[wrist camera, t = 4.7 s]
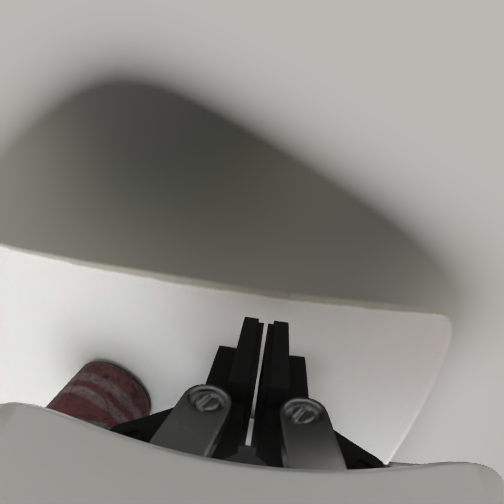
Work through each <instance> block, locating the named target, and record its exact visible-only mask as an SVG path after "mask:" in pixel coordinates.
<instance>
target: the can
mask: <svg viewBox="0 0 504 504" xmlns="http://www.w3.org/2000/svg"><path fill="white" fill-rule="evenodd" d="M46 408H49V409H52V410H55V411H58V412H61V413H64V414H66V415H69V416H72V417H76V418H80V419H85V420H90V421H95V422H101V423H107V427H111V428H112V427H114V426H115V425H118V424H120V423H124V422H127V421H131V420H135V419H138V418H142V417H145V416H148V415H149V414H150V410H149V402H148V398H147V396H146V394H145V391H144V389H143V388H142V387H141V385H140V384H139V383H138V381H137V380H135V379H134V378H133V377H132V376H131V375H130V374H129V373H127V372H126V371H124V370H123V369H121V368H119V367H117V366H115V365H112V364H109V363H102V362H93V363H90V364H87V365H85V366H84V367H83V368H82V369H81V370H80V371H79V372H78V373H77V374H76V375H75V376H74V377H73V378H72V379H71V380H70V382H69V383H68V384H67V385H66V386H65V387H64V388H63V389H62V390H61V391H60V392H59V393H58V395H57V396H56V397H55V398H54V399H53V400H52V401H51V402H50V403H49V404H48V405H47V407H46Z"/></svg>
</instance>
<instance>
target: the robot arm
mask: <svg viewBox="0 0 504 504" xmlns="http://www.w3.org/2000/svg"><path fill="white" fill-rule="evenodd" d="M263 326H264V323H259V319H257V318H250V317H245V319H244V322H243V326H242V330H241V334H240V338H239V341H238V345H237V348H232V347H225V346H219V348H218V351H217V354H216V356H215V359H214V362H213V365H212V367H211V370H210V373H209V376H208V378H207V381H206V384H201V385H196V386H193V387H191V388H189V389H188V390H187V391H186V392H185V393H184V394H183V396H182V397H181V399H180V400H179V401H178V403H177V404H176V406H175V407H174V408H171V409H168V410H165V411H162V412H158V413H155V414H152V415H148V416H145V417H142V418H138V419H135V420H131V421H127V422H124V423H120V424H118V425H115V426H114V427H112V428H111V427H107V423H101V422H95V421H90V420H85V419H80V418H76V417H72V416H69V415H66V414H64V413H61V412H58V411H55V410H52V409H49V408H45V407H41V406H37V405H32V404H26V403H16V402H8V403H3V404H0V504H504V481H503V479H502V478H501V477H500V475H499V474H498V473H497V472H496V471H495V470H493V469H491V468H490V467H487V466H484V465H481V464H477V463H468V462H439V463H429V464H409V463H396V462H389V464H388V465H384V464H383V463H382V461H380V460H379V459H378V458H377V457H375V456H373V455H372V454H370V453H368V452H367V451H365V450H364V449H362V448H361V447H359V446H357V445H356V444H354V443H353V442H351V441H350V440H348V439H347V438H345V437H344V436H342V435H341V434H339V433H338V432H336V431H335V430H333V427H332V424H331V421H330V419H329V416H328V413H327V411H326V409H325V407H324V406H323V405H322V404H321V403H319V402H317V401H315V400H314V399H310V398H309V397H308V386H307V374H306V364H305V357H300V356H290V355H289V326H288V323H287V322H279V321H274V324H268V329H267V335H266V342H265V348H264V354H263V360H262V366H261V372H260V378H259V385H258V393H257V400H256V408H255V415H254V423H253V430H252V437H251V445H250V448H256V453H255V457H258V458H259V459H261V460H262V461H263V462H264V463H265V466H260V465H251V464H244V463H237V462H230V461H226V458H228V457H231V456H233V455H235V454H237V453H238V448H239V446H242V447H245V444H246V439H247V433H248V427H249V421H250V415H251V409H252V403H253V397H254V391H255V385H256V378H257V371H258V364H259V356H260V349H261V341H262V334H263Z"/></svg>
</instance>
